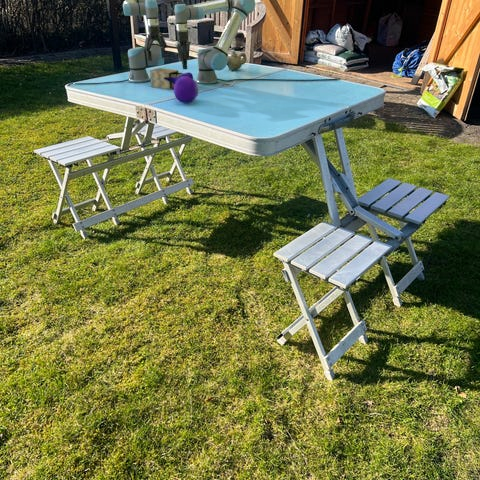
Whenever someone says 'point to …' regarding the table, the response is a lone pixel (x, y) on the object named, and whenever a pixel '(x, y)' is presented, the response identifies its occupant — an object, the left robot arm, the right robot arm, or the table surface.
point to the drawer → (176, 75)
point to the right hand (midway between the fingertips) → (185, 69)
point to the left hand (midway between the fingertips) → (156, 59)
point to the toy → (184, 87)
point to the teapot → (236, 61)
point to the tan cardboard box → (161, 78)
